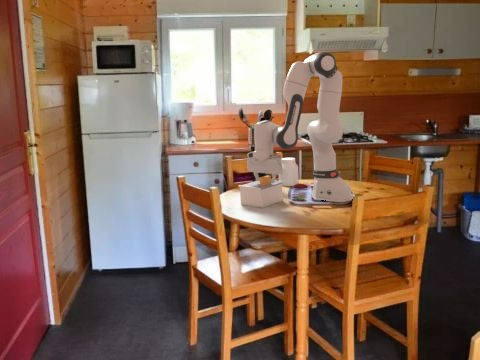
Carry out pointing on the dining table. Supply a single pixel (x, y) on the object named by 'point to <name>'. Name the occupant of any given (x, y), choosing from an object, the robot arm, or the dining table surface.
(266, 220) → the dining table surface
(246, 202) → the carton
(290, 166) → the jar
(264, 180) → the lid
